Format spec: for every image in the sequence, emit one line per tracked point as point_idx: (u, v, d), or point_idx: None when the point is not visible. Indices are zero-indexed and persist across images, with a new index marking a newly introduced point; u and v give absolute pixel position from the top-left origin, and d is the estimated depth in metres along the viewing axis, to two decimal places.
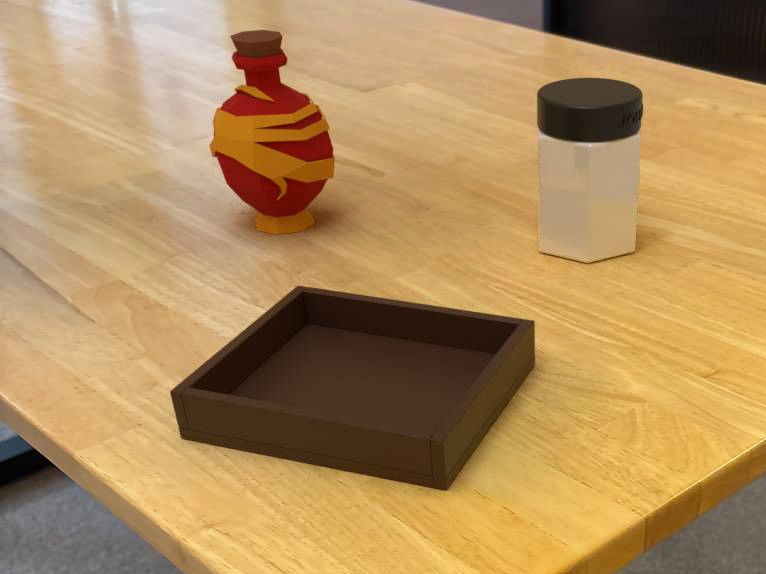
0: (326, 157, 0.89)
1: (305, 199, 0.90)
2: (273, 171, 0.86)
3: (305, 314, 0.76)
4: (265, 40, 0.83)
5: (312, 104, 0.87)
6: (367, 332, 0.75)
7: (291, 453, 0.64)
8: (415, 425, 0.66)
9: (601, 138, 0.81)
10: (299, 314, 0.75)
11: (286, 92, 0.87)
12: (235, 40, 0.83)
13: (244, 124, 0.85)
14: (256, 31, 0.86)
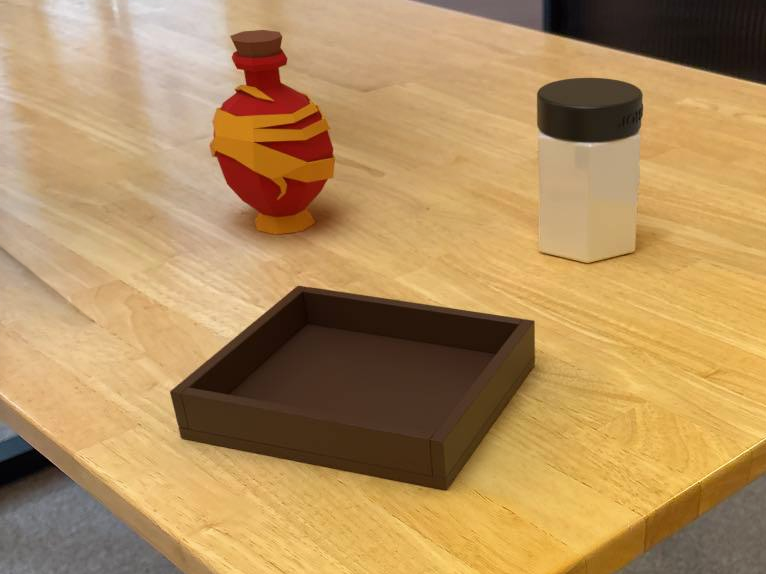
0: (326, 157, 0.89)
1: (305, 199, 0.90)
2: (272, 171, 0.86)
3: (305, 314, 0.76)
4: (265, 40, 0.83)
5: (312, 104, 0.87)
6: (367, 332, 0.75)
7: (291, 453, 0.64)
8: (415, 425, 0.66)
9: (601, 138, 0.81)
10: (299, 314, 0.75)
11: (285, 92, 0.87)
12: (235, 40, 0.83)
13: (244, 124, 0.85)
14: (256, 31, 0.86)
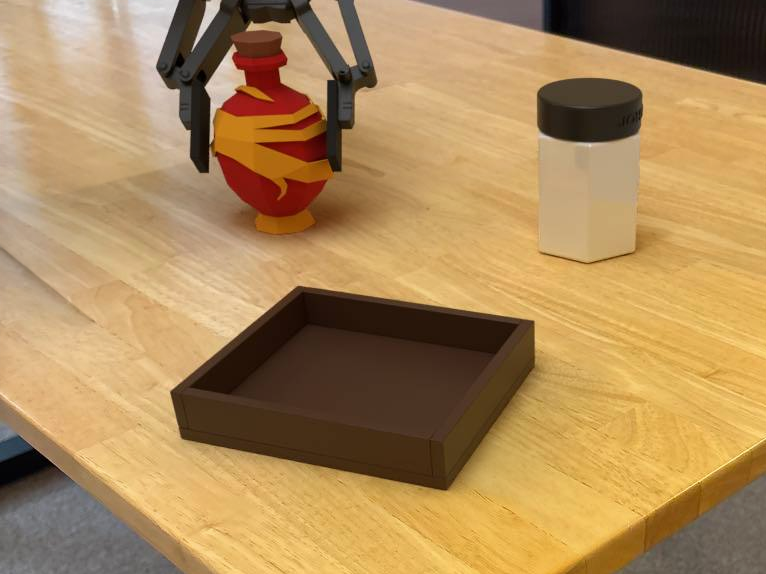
0: (326, 158, 0.89)
1: (305, 199, 0.90)
2: (273, 171, 0.86)
3: (305, 314, 0.76)
4: (265, 40, 0.83)
5: (312, 104, 0.87)
6: (367, 332, 0.75)
7: (291, 453, 0.64)
8: (415, 425, 0.66)
9: (601, 138, 0.81)
10: (299, 314, 0.75)
11: (286, 93, 0.86)
12: (235, 40, 0.83)
13: (244, 124, 0.85)
14: (256, 31, 0.86)
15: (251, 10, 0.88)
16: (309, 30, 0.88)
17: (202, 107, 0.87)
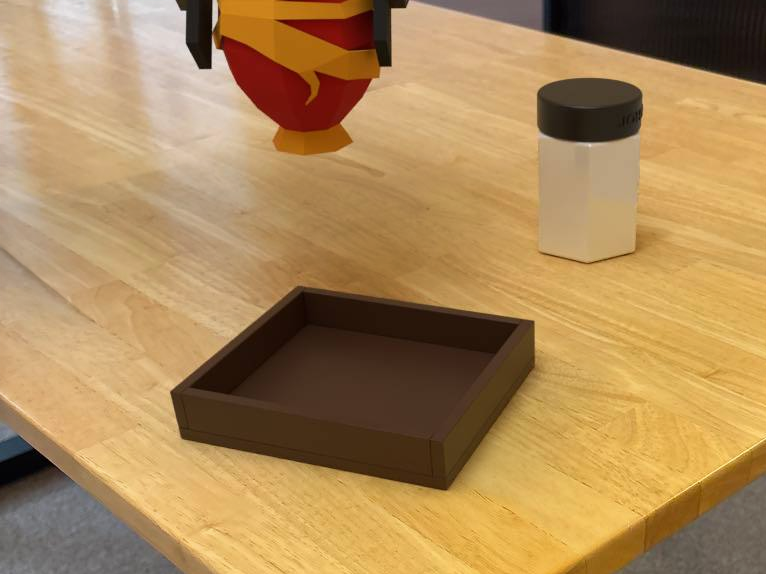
0: (371, 48, 0.66)
1: (342, 106, 0.67)
2: (301, 62, 0.63)
3: (305, 314, 0.76)
4: None
5: None
6: (367, 332, 0.75)
7: (291, 453, 0.64)
8: (415, 425, 0.66)
9: (601, 138, 0.81)
10: (299, 314, 0.75)
11: None
12: None
13: None
14: None
15: None
16: None
17: None
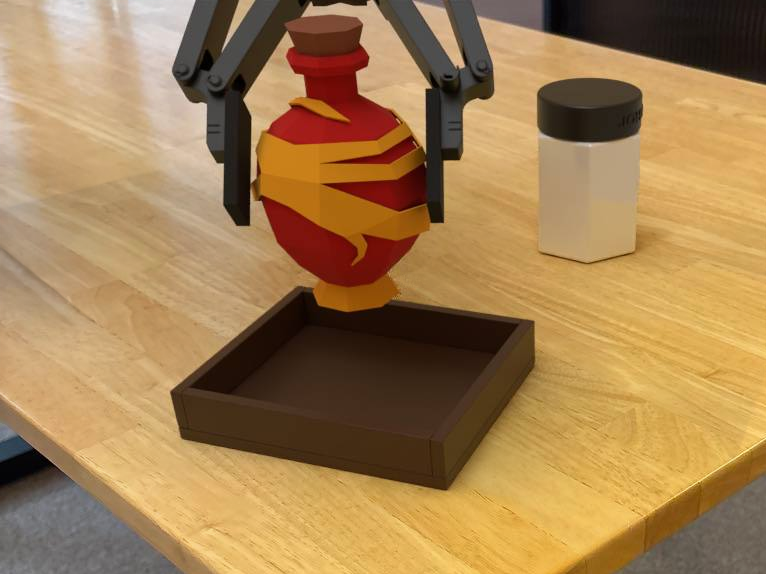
0: (422, 202, 0.61)
1: (390, 262, 0.62)
2: (347, 225, 0.58)
3: (305, 314, 0.76)
4: (339, 30, 0.55)
5: (404, 125, 0.59)
6: (367, 332, 0.75)
7: (291, 453, 0.64)
8: (415, 425, 0.66)
9: (601, 138, 0.81)
10: (299, 314, 0.75)
11: (366, 108, 0.58)
12: (293, 30, 0.55)
13: (306, 157, 0.56)
14: (322, 16, 0.57)
15: None
16: (397, 15, 0.59)
17: (241, 130, 0.59)
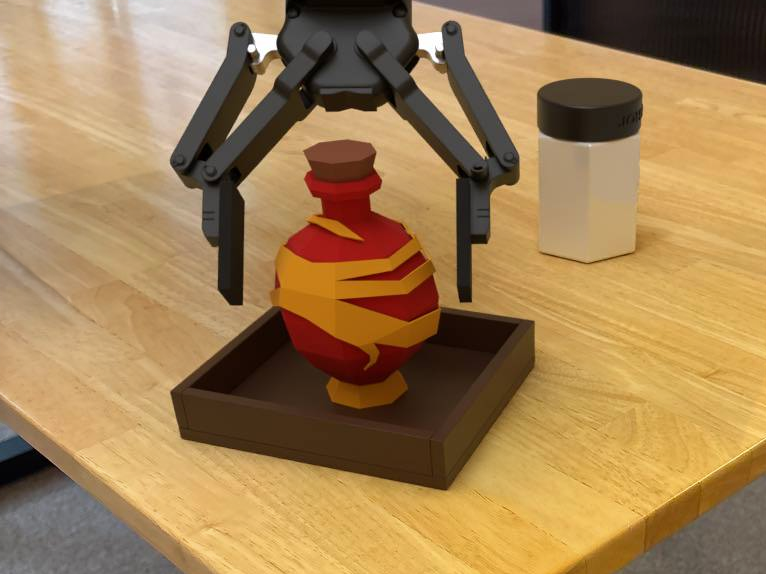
0: (430, 310, 0.65)
1: (400, 364, 0.66)
2: (361, 336, 0.62)
3: None
4: (354, 159, 0.59)
5: (414, 240, 0.63)
6: None
7: (291, 453, 0.64)
8: (415, 425, 0.66)
9: (601, 138, 0.81)
10: None
11: (378, 226, 0.62)
12: (312, 159, 0.59)
13: (323, 274, 0.61)
14: (338, 142, 0.61)
15: (325, 96, 0.64)
16: (419, 117, 0.63)
17: (234, 217, 0.63)
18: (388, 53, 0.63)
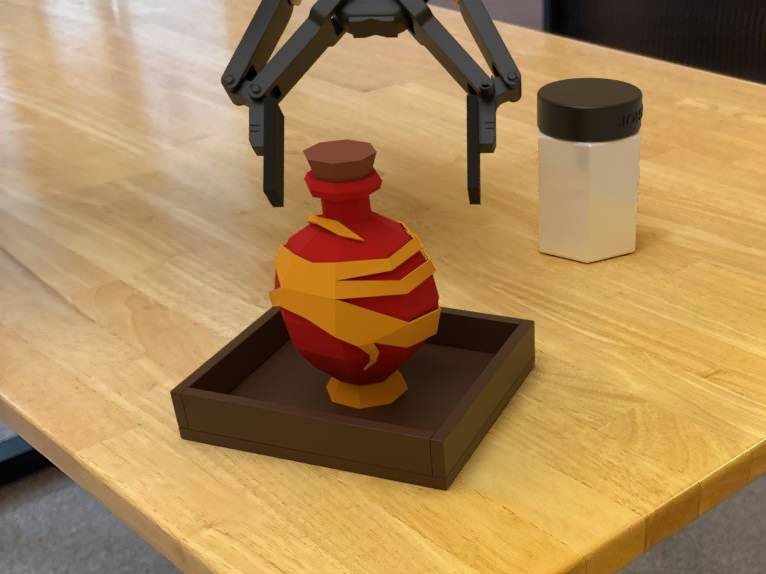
0: (430, 310, 0.65)
1: (400, 364, 0.66)
2: (361, 336, 0.62)
3: None
4: (354, 159, 0.59)
5: (414, 240, 0.63)
6: None
7: (291, 453, 0.64)
8: (415, 425, 0.66)
9: (601, 138, 0.81)
10: None
11: (378, 226, 0.62)
12: (311, 159, 0.59)
13: (323, 274, 0.61)
14: (338, 142, 0.61)
15: (353, 23, 0.74)
16: (435, 41, 0.73)
17: (276, 129, 0.73)
18: None
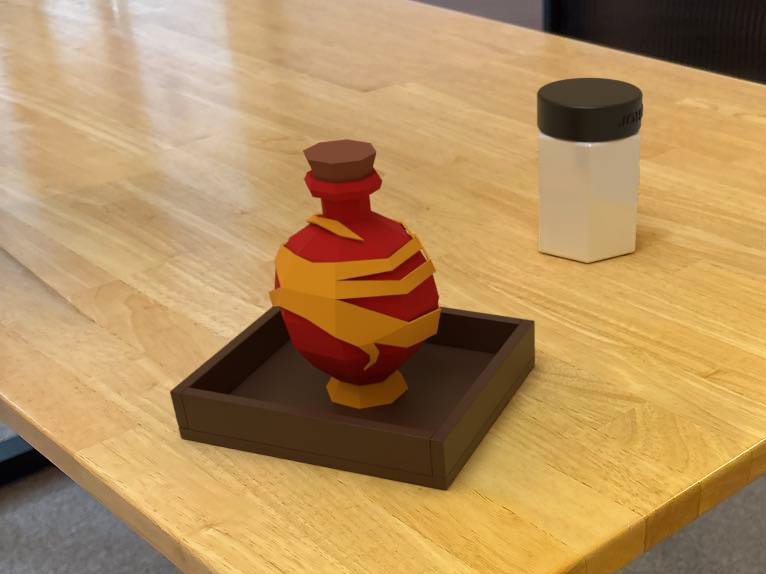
0: (430, 310, 0.65)
1: (400, 364, 0.66)
2: (361, 336, 0.62)
3: None
4: (354, 159, 0.59)
5: (414, 240, 0.63)
6: None
7: (291, 453, 0.64)
8: (415, 425, 0.66)
9: (601, 138, 0.81)
10: None
11: (378, 226, 0.62)
12: (311, 159, 0.59)
13: (323, 274, 0.61)
14: (338, 142, 0.61)
15: None
16: None
17: None
18: None
